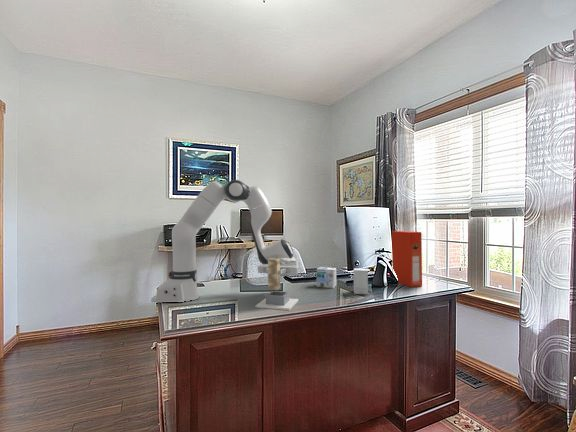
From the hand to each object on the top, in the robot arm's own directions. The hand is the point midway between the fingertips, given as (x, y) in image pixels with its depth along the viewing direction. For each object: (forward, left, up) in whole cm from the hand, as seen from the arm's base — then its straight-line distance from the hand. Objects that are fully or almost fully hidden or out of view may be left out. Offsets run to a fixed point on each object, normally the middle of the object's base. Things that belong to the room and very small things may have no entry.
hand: (273, 271), depth 143 cm
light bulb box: (+31, +37, -15) cm, 51 cm away
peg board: (+2, +1, -15) cm, 15 cm away
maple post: (0, +1, -8) cm, 8 cm away
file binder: (+81, +41, -15) cm, 92 cm away
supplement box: (+47, +21, -15) cm, 54 cm away
